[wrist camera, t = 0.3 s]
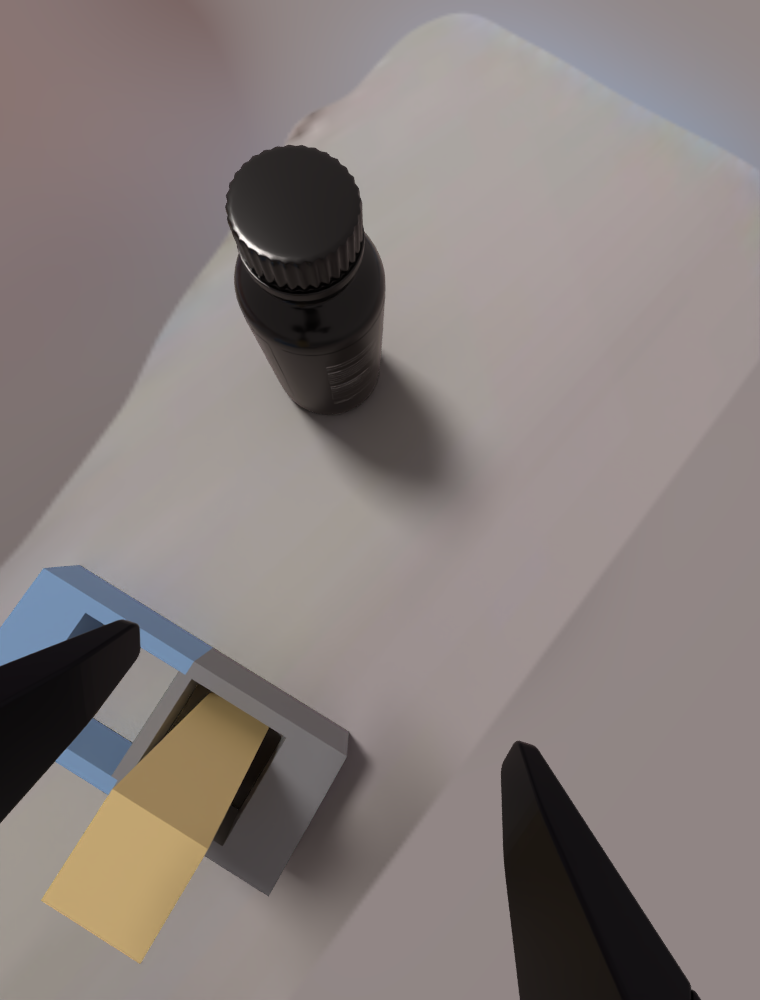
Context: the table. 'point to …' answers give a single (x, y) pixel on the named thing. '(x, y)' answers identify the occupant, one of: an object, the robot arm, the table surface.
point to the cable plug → (157, 828)
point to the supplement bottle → (308, 276)
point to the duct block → (109, 757)
